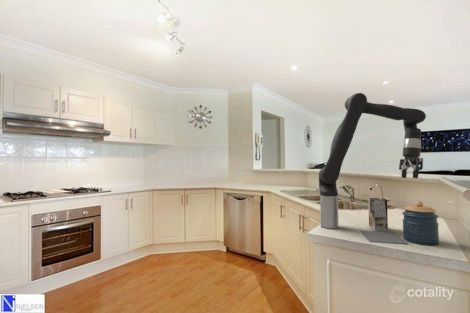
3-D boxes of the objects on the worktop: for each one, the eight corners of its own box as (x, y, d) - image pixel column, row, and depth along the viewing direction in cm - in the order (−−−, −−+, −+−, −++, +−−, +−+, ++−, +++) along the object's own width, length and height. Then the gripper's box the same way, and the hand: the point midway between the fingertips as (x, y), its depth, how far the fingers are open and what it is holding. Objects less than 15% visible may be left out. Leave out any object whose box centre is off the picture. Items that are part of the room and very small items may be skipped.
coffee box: (388, 232, 121) (387, 200, 121) (374, 231, 122) (373, 200, 123) (381, 227, 130) (380, 197, 130) (368, 226, 131) (367, 197, 131)
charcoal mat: (369, 241, 107) (369, 240, 107) (360, 231, 123) (360, 230, 123) (408, 244, 103) (408, 243, 103) (393, 233, 119) (393, 232, 119)
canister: (428, 247, 99) (427, 204, 99) (396, 238, 111) (395, 200, 111) (446, 243, 104) (444, 202, 105) (413, 235, 116) (412, 198, 117)
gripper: (396, 148, 135) (393, 177, 133) (414, 145, 120) (411, 177, 119) (409, 150, 134) (407, 178, 133) (429, 147, 120) (427, 179, 119)
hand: (409, 178), depth 126 cm, fingers open, 8 cm apart
